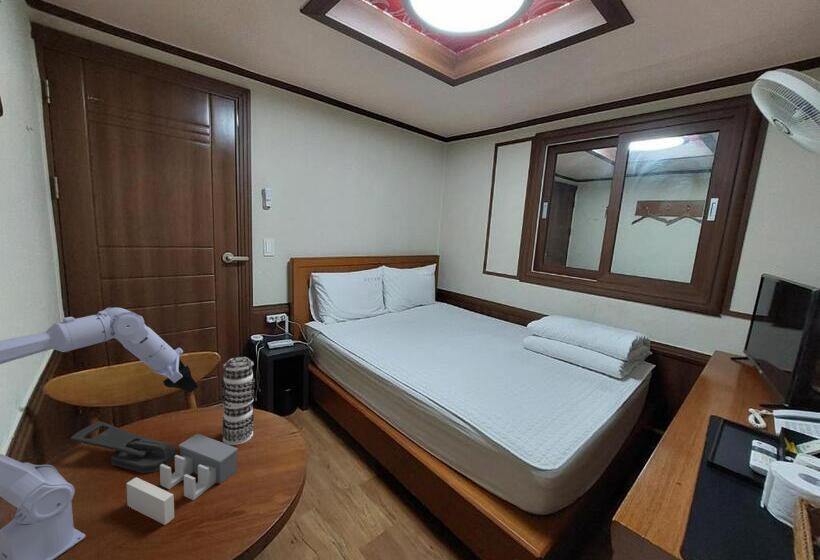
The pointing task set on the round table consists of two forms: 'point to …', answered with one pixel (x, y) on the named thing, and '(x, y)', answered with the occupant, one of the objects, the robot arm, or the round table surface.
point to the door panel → (150, 500)
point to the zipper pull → (129, 448)
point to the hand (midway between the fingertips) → (188, 381)
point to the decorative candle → (238, 400)
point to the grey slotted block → (200, 465)
